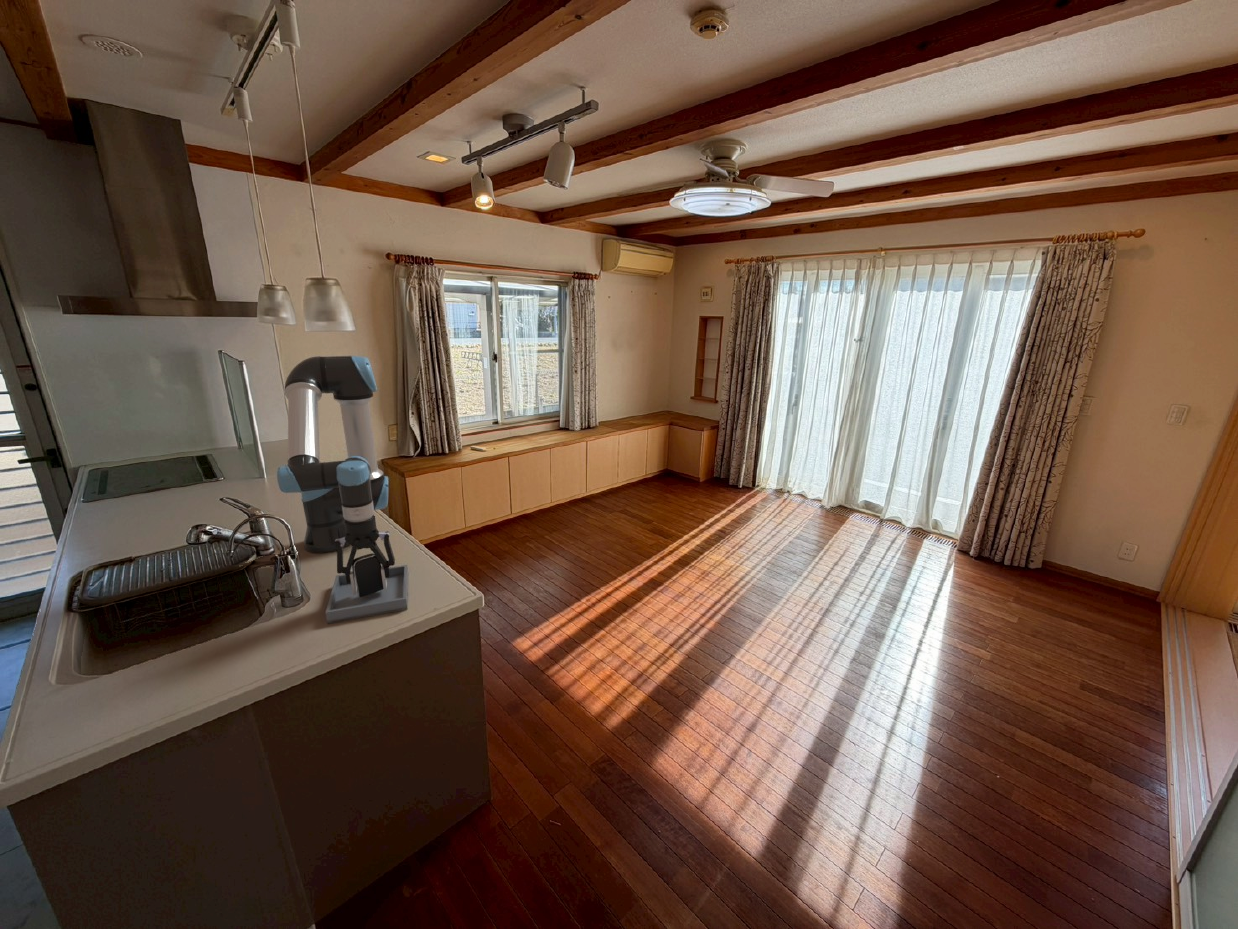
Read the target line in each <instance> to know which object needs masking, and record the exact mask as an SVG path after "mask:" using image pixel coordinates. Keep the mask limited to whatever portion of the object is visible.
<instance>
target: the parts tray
mask: <svg viewBox="0 0 1238 929" xmlns="http://www.w3.org/2000/svg"><path fill="white" fill-rule="evenodd" d="M408 568H409V567H408V564H403V565H397V566H396V565H395V566H389V572H390V575H389V577H387V578H386V580H387V589H385V590H384V589H383V590H380V591H378V592H375V593H372V594H369V595H367V596H363V597H359V596H358V592H356V594H354V595H353V592H352V586H351V583H350V584H347V581H346V575H345V574H344V573H342V574H338V575H337V574H336V575H335V578H334V581H333V585H332V588H331V591H330V596H329V598H328V602H327V607H326V610H325V617H326V618H325V619H326V623H327V625H330V624H335V623H341V622H345V621H346V622H348V621H350V620H357V619H363V618H367V617H372V616H380V615H384V614H385V615H386V614H389V613H395V612H401V611H407V610H408V606H409V603H408V602H409V570H408ZM356 586H357V585H356Z"/></svg>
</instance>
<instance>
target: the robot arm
mask: <svg viewBox="0 0 1238 929" xmlns="http://www.w3.org/2000/svg"><path fill="white" fill-rule="evenodd" d="M377 387H378V386H377V383H376V378H375V375H374V372H373V368H372V364H371V361H370V360H369V358H367V357H366V356H363V355H362V356H361V355H360V356H357V355H343V356H342V355H339V356H337V355H336V356H335V355H334V356H333V355H332V356H329V355H328V356H320V355H319V356H317V355H315V356H311V357H307V358H306V359H303V360H302V361H300V362H299V363H298V364H296V365H295V366H294V367H293V369H292V370H290V372H289V374H288V376H287V377H286V378H285V381H284V396H285V398H286V399H287V400H288V402H287V403H288V404H287V405H288V406H287V408H288V409H287V411H288V416H287V420H288V421H287V465H286V464H285V465H282V466H279V467H278V468H277V471H276V479H277V485H278V488H279V490H280V491H281V492H282V493H285V494H293V493H295V494H296V493H301V502H302V505H303V506H302V507H303V511H304V517H305V522H306V530H305V535H304V540H303V544H304V548H305V550H306V551H307V552H310V553H314V554H321V553H322V554H323V553H331V552H335V551H336V572H337V574H338V575H341V574H345V575H346V581H347V584H350V583H351V586H352V592H353V595H354V594H356V592H357V586H356V581H355V577H354V575H353V570H352V564H353V560H354V559H355V557H356V554H357V551H359V550H362V549H370V551H371V552H373V554H375V556H376V557H377V559H378V560H379V562H380V563H381V574H382V581H383V588H384V590H385V589H387V580H386V578H387V577H389V575H390V572H389V567H394V566H395V563H396V562H395V561H396V558H395V555H394V552H393V548H392V545H391V542H390V531H388V530H387V531H385V532H380V531H379V530H378V528H377V523H376V522H377V521H376V516H375V512H376V511H378V510H384V509H386V508H387V506H388V505H389V504H388V503H389V477H388V475H387V476H386V475H384V472H383V471H382V470H381V469H380V468H378V460H377V459H378V458H377V452H376V451H377V450H376V446H375V445H376V443H375V437H374V431H373V422H372V415H371V408H370V401H371V400H372V399H374V393H375V392H377V391H378V388H377ZM322 394H332V395H333V399H334V401H336V402H337V403H338V404H339V405H340V406H339V407H340V413H341V420H342V426H343V433H344V439H345V446H346V452H347V458H346V459H344V460H337V461H335V460H334V461H326V462H325V461H323V462H320V428H319V427H320V426H319V425H320V424H319V421H320V420H319V418H320V417H319V401H320V400H321V399H322V396H323V395H322ZM379 538H380V540H381V541H382V542H383V545H384V549H385V552H386V555H387V557H386V556H385V555H384V553H383V552H382V550H381V549H380V547H379V545H378V543H377V541H378V539H379ZM348 546H350V547H351V551H350V553H349V557H348V559H347V563H346V566H344V548H346V547H348ZM387 558H388V559H387Z"/></svg>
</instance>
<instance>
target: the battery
mask: <svg viewBox="0 0 1238 929" xmlns="http://www.w3.org/2000/svg"><path fill="white" fill-rule="evenodd" d="M381 566H382V565H381V563H380V562H379V560H378V559H377V557H376V556H375V554H374V553H368V554H365V555H362V556H357V557H356V558H355V557H354V560H353V564H352V567H351V570H353V575H354V577H355V581H356V585H357V592H358V596H359V597H363V596H367V595H369V594H372V593H375V592H378V591H380V590H383V589H384V588H383V581H382V574H381Z"/></svg>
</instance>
